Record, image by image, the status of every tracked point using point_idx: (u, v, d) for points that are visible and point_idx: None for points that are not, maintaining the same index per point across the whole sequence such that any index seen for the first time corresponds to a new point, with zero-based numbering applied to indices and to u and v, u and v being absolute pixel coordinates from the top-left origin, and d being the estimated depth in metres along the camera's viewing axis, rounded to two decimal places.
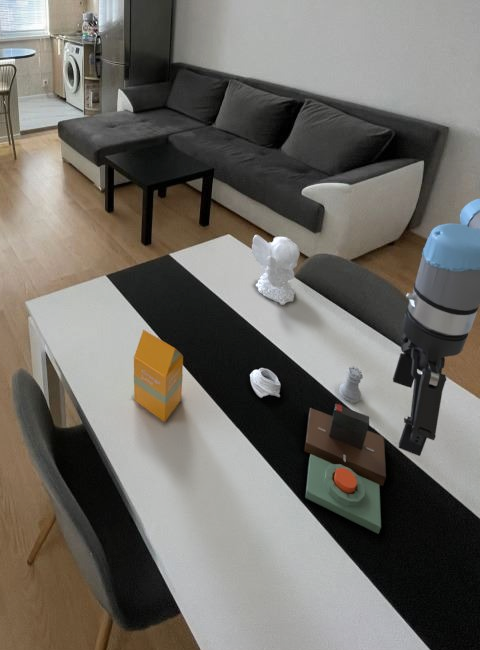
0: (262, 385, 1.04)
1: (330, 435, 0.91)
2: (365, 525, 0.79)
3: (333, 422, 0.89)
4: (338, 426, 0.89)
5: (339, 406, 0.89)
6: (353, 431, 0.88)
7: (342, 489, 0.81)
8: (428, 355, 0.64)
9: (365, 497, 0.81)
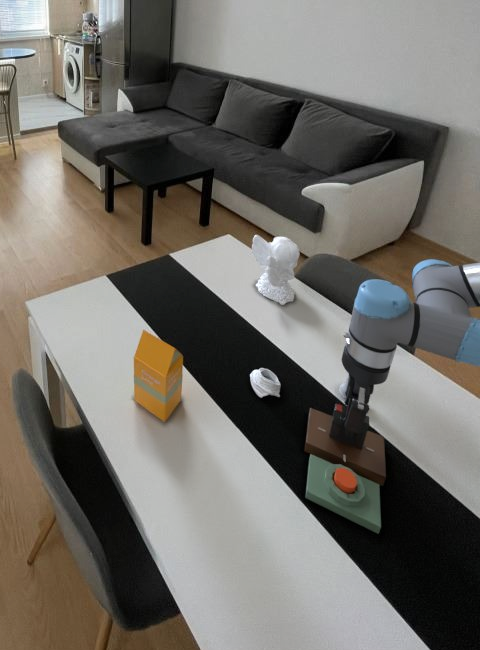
0: (262, 385, 1.04)
1: (330, 435, 0.91)
2: (365, 525, 0.79)
3: (333, 422, 0.89)
4: (338, 426, 0.89)
5: (339, 406, 0.89)
6: None
7: (342, 489, 0.81)
8: (359, 383, 0.80)
9: (365, 497, 0.81)
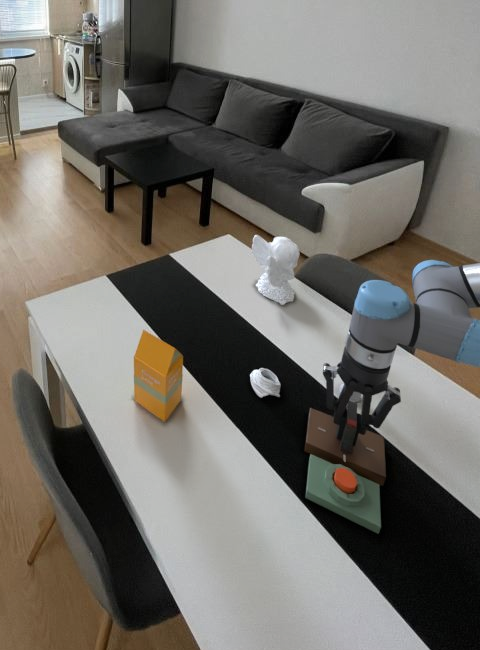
0: (262, 385, 1.04)
1: (350, 451, 0.88)
2: (365, 525, 0.79)
3: (353, 438, 0.86)
4: None
5: (349, 421, 0.86)
6: None
7: (342, 489, 0.81)
8: (386, 381, 0.81)
9: (365, 497, 0.81)
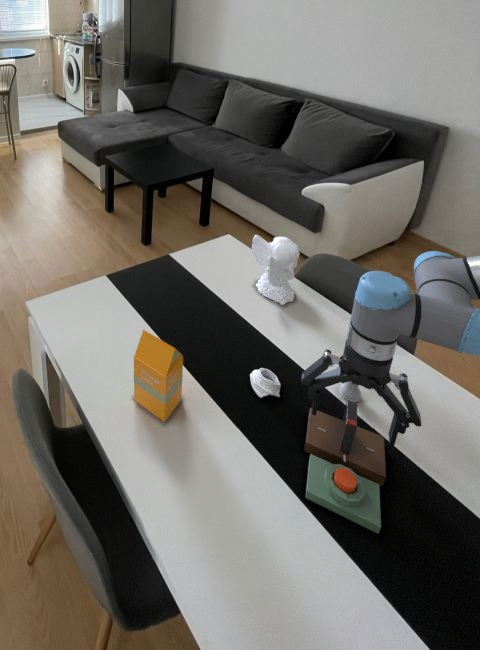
0: (262, 385, 1.04)
1: None
2: (365, 525, 0.79)
3: (353, 438, 0.86)
4: None
5: (349, 421, 0.86)
6: None
7: (342, 489, 0.81)
8: (389, 373, 0.80)
9: (365, 497, 0.81)
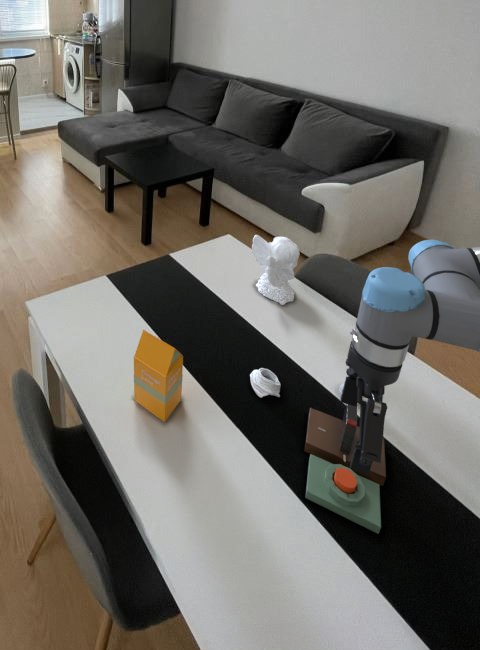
0: (262, 385, 1.04)
1: None
2: (365, 525, 0.79)
3: (353, 438, 0.86)
4: None
5: (349, 421, 0.86)
6: None
7: (342, 489, 0.81)
8: (371, 385, 0.72)
9: (365, 497, 0.81)
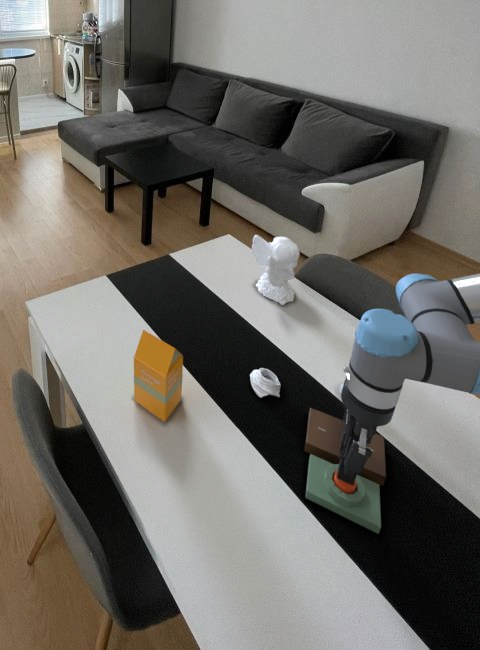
0: (262, 385, 1.04)
1: None
2: (365, 525, 0.79)
3: None
4: None
5: None
6: None
7: (342, 490, 0.81)
8: (361, 424, 0.72)
9: (365, 497, 0.81)
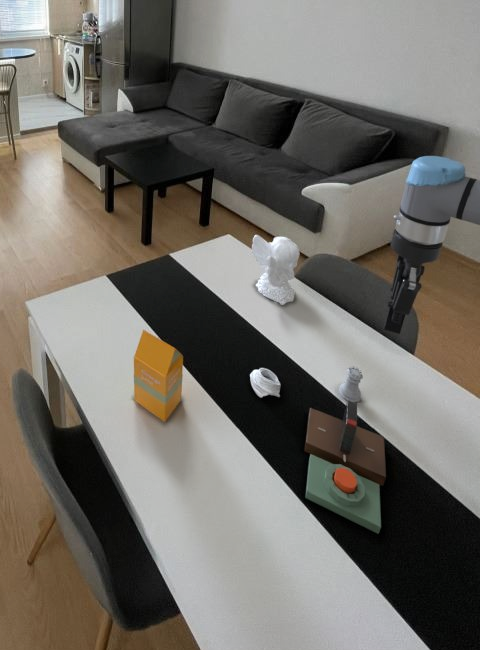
0: (262, 385, 1.04)
1: None
2: (365, 525, 0.79)
3: (353, 438, 0.86)
4: None
5: (349, 421, 0.86)
6: None
7: (342, 489, 0.81)
8: (411, 263, 0.80)
9: (365, 497, 0.81)
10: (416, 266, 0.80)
